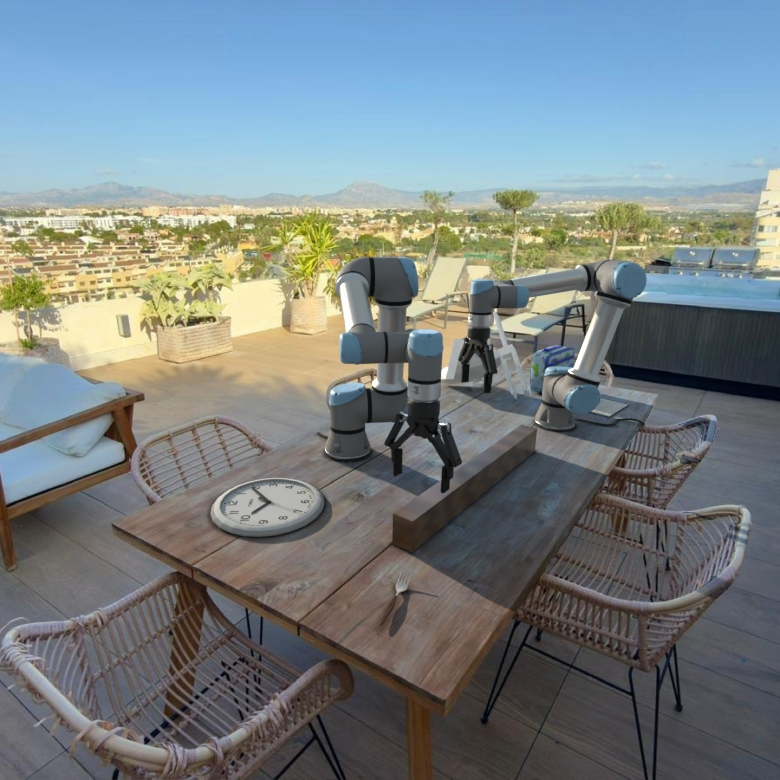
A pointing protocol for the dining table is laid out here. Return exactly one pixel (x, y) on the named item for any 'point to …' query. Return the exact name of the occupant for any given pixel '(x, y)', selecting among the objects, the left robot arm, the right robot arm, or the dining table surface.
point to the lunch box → (549, 363)
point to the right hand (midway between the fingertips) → (475, 387)
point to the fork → (400, 588)
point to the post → (460, 489)
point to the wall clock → (267, 507)
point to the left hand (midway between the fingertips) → (420, 482)
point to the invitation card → (608, 407)
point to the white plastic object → (476, 367)
